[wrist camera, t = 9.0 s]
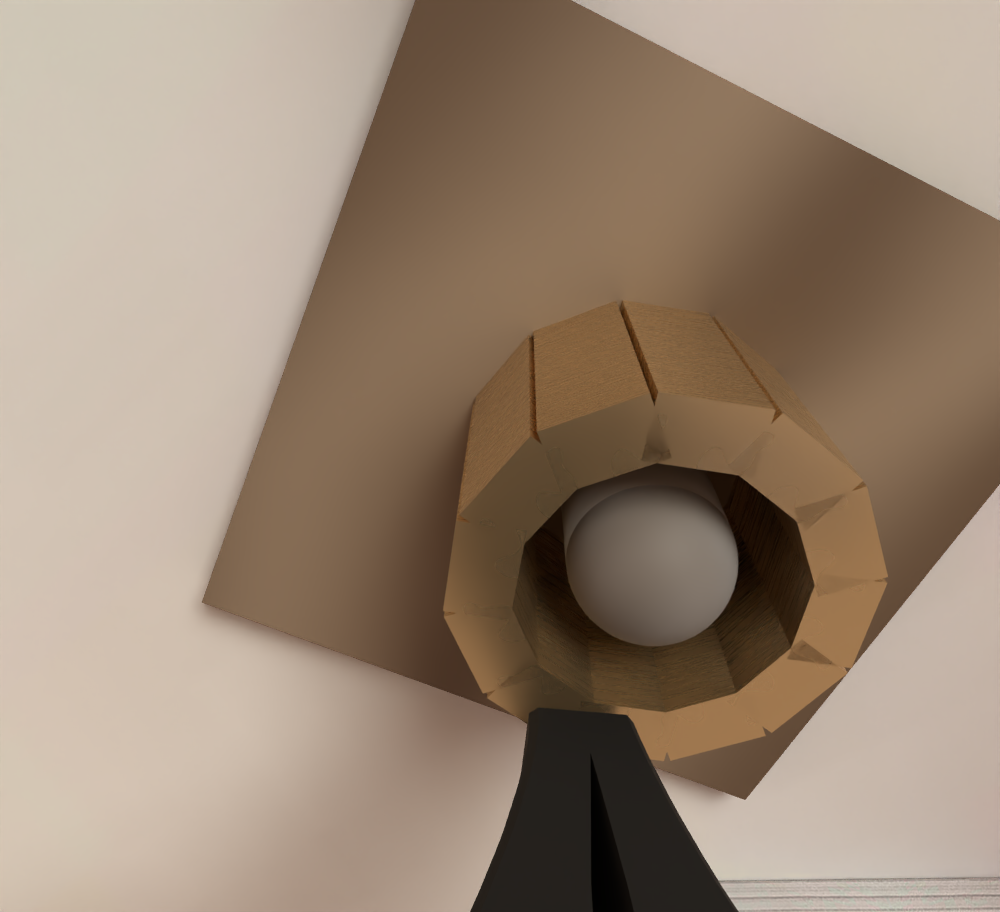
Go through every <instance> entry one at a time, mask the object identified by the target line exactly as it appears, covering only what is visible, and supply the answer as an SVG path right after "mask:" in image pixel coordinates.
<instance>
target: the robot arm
mask: <svg viewBox="0 0 1000 912" xmlns="http://www.w3.org/2000/svg"><path fill="white" fill-rule="evenodd" d="M470 912H738V910H737V909H736V907H735V905H734V904H733V902H732V901H731V899H730V898H729V896H728V895H727V893H726V892H725V890H724V889H723V887H722V886H721V884H720V883H719V881H718V879H717V878H716V876H715V875H714V873H713V871H712V870H711V868H710V866H709V865H708V863H707V862H706V860H705V858H704V857H703V855H702V853H701V852H700V850H699V848H698V846H697V845H696V843H695V841H694V840H693V838H692V836H691V834H690V833H689V831H688V829H687V828H686V826H685V824H684V822H683V821H682V819H681V817H680V815H679V814H678V812H677V810H676V808H675V806H674V804H673V803H672V801H671V799H670V797H669V795H668V793H667V791H666V789H665V788H664V786H663V784H662V782H661V780H660V778H659V776H658V774H657V772H656V770H655V768H654V766H653V764H652V762H651V760H650V758H649V756H648V754H647V752H646V749H645V747H644V745H643V743H642V741H641V739H640V736H639V734H638V732H637V730H636V727H635V725H634V722H633V721H632V720H631V719H630V718H629V717H628V716H627V715H623V714H611V713H599V712H587V711H575V710H563V709H550V708H537V709H535V710H533V711H532V712H530V713H529V717H528V724H527V732H526V740H525V748H524V755H523V763H522V771H521V776H520V780H519V784H518V787H517V791H516V794H515V797H514V800H513V803H512V806H511V809H510V812H509V815H508V819H507V822H506V825H505V828H504V831H503V834H502V836H501V839H500V842H499V844H498V847H497V849H496V852H495V854H494V857H493V859H492V861H491V864H490V866H489V869H488V871H487V874H486V876H485V879H484V881H483V884H482V886H481V889H480V891H479V893H478V896H477V898H476V900H475V902H474V904H473V907H472V909H471V911H470Z"/></svg>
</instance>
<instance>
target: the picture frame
mask: <svg viewBox="0 0 1000 912" xmlns="http://www.w3.org/2000/svg"><path fill="white" fill-rule="evenodd" d="M719 883H720V884H721V886H722V887H723V889H724V890H725V892H726V893H727V895H728V896H729V898H730V899H731V901H732V902H733V904H734V905H735V907H736V909H737V910H738V912H1000V878H957V879H875V880H793V881H719Z"/></svg>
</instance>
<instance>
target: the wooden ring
mask: <svg viewBox="0 0 1000 912" xmlns="http://www.w3.org/2000/svg"><path fill="white" fill-rule="evenodd" d="M655 463H660V464H666V465H673V466H680V467H687V468H693V469H700V470H707V471H713V472H720V473H727V474H734V475H736V476H735V479H734V483H733V486H732V489H731V492H730V496H729V499H728V502H727V504H726V505H725V506H724V507H723V510H724V513H725V515H726V517H727V519H728V522H729V524H730V526H731V529H732V532H733V534H734V537H735V541H736V545H737V550H738V575H737V580H736V584H735V588H734V591H733V593H732V596H731V598H730V600H729V602H728V604H727V605H726V607H725V609H724V610H723V612H722V613H721V614H720V615H719V617H718V618H717V619H716V620H715V621H714V622H713V623H712V624H711V625H710V626H709V627H707V628H706V629H705V630H703V631H702V632H701V633H699V634H697V635H696V636H694V637H692V638H690V639H687V640H685V641H682V642H679V643H676V644H671V645H665V646H642V645H637V644H632V643H629V642H626V641H623V640H620V639H618V638H616V637H614V636H612V635H610V634H608V633H607V632H605V631H604V630H602V629H601V628H600V627H599V626H597V625H596V624H595V623H594V622H593V621H592V620H591V619H590V618H589V617H588V616H587V615H586V614H585V612H584V611H583V610H582V608H581V607H580V605H579V604H578V602H577V600H576V598H575V596H574V594H573V592H572V590H571V587H570V584H569V580H568V575H567V569H566V560H565V547H564V540H563V539H561V538H560V537H559V536H557V535H556V534H554V533H553V532H552V531H550V530H549V529H547V528H546V527H545V526H543V524H544V523H545V522H546V521H547V520H548V519H549V518H550V517H551V516H552V515H553V514H554V512H555V511H556V510H557V509H558V508H559V507H560V506H561V505H562V504H563V503H564V502H565V501H566V500H567V499H568V498H569V497H570V496H571V495H572V494H573V493H574V492H575V491H576V490H577V489H579V488H582V487H585V486H588V485H591V484H594V483H597V482H600V481H603V480H606V479H610V478H613V477H616V476H619V475H622V474H625V473H628V472H631V471H634V470H637V469H640V468H643V467H646V466H649V465H652V464H655ZM886 577H888V574H887V570H886V566H885V561H884V557H883V553H882V549H881V544H880V540H879V536H878V531H877V527H876V523H875V518H874V514H873V510H872V506H871V501H870V497H869V493H868V488H867V486H866V484H865V483H864V482H863V479H862V478H861V477H860V476H859V474H858V473H857V472H856V470H855V469H854V468H853V467H852V465H851V464H850V463H849V462H848V460H847V459H846V458H845V456H844V455H843V454H842V453H841V451H840V450H839V449H838V448H837V446H836V445H835V444H834V442H833V441H832V440H831V439H830V437H829V436H828V435H827V434H826V432H825V431H824V430H823V428H822V427H821V426H820V425H819V423H818V422H817V421H816V420H815V418H814V417H813V416H812V414H811V413H810V412H809V411H808V409H807V408H806V407H805V406H804V404H803V403H802V402H801V400H800V399H799V398H798V397H797V395H796V394H795V393H794V392H793V390H792V389H791V388H790V386H789V385H788V384H787V383H786V381H785V380H784V379H783V378H782V376H781V375H780V374H779V372H778V371H777V370H776V369H775V368H774V367H773V366H772V365H771V364H770V363H768V362H767V361H766V360H765V359H764V358H763V357H761V356H760V355H759V354H758V353H757V352H756V351H754V350H753V349H752V348H751V347H750V346H749V345H747V344H746V343H745V342H744V341H743V340H742V339H740V338H739V337H738V336H737V335H736V334H735V333H733V332H732V331H731V330H730V329H729V328H727V327H726V326H725V325H724V324H723V323H722V322H720V321H719V320H718V319H717V318H716V317H715V316H713V317H712V318H711V316H710V315H709V313H702V312H696V311H689V310H683V309H677V308H670V307H664V306H657V305H651V304H645V303H638V302H632V301H625V300H622V304H621V309H620V310H619V307H618V304H617V301H614V302H611V303H608V304H606V305H603V306H600V307H598V308H595V309H592V310H589V311H587V312H584V313H581V314H579V315H576V316H573V317H570V318H568V319H565V320H562V321H559V322H557V323H554V324H551V325H549V326H546V327H543V328H540V329H538V330H535V331H534V338H533V337H531V336H530V335H528V336H527V337H526V338H525V339H524V341H523V342H522V343H521V344H520V345H519V346H518V348H517V349H516V350H515V351H514V352H513V354H512V355H511V356H510V357H509V358H508V359H507V361H506V362H505V363H504V364H503V365H502V366H501V368H500V369H499V370H498V371H497V372H496V373H495V375H494V376H493V377H492V378H491V379H490V381H489V382H488V383H487V384H486V385H485V386H484V388H483V389H482V390H481V391H480V392H479V393H478V395H477V396H476V399H475V402H473V409H472V415H471V422H470V429H469V436H468V442H467V449H466V456H465V462H464V469H463V476H462V483H461V490H460V497H459V503H458V510H457V517H456V524H455V531H454V538H453V545H452V552H451V558H450V565H449V572H448V579H447V586H446V593H445V600H444V606H443V611H445V612H444V618H445V620H446V622H447V624H448V626H449V628H450V630H451V632H452V634H453V636H454V638H455V640H456V642H457V644H458V646H459V648H460V650H461V652H462V654H463V656H464V658H465V659H466V661H467V663H468V665H469V667H470V669H471V671H472V673H473V675H474V677H475V679H476V681H477V683H478V685H479V687H480V689H481V691H482V693H483V694H484V693H487V698H488V699H489V700H491V701H492V702H494V703H496V704H497V705H499V706H500V707H502V708H503V709H505V710H507V711H508V712H510V713H511V714H513V715H514V716H516V717H518V718H519V719H521V720H522V721H524V722H525V723H527V724H528V717H529V713H530V712H532V711H533V710H535V709H537V708H550V709H563V710H575V711H587V712H599V713H611V714H623V715H627V716H628V717H629V718H630V719H631V720H632V721H633V722H634V725H635V727H636V730H637V732H638V734H639V736H640V739H641V741H642V743H643V745H644V747H645V749H646V752H647V754H648V756H649V758H650V759H651V760H659V761H664V759H665V756H666V753H668V756H669V758H670V761H672V760H676V759H679V758H683V757H687V756H691V755H695V754H698V753H702V752H706V751H710V750H714V749H718V748H721V747H725V746H729V745H733V744H737V743H740V742H744V741H748V740H752V739H756V738H760V737H763V736H766V735H765V732H764V730H763V727H764V728H765V729H767V730H768V731H770V732H771V733H772V732H774V731H775V730H776V729H777V728H779V727H780V726H781V725H782V724H784V723H785V722H786V721H788V720H789V719H790V718H791V717H793V716H794V715H795V714H796V713H798V712H799V711H800V710H801V709H803V708H804V707H805V706H807V705H808V704H809V703H810V702H812V701H813V700H814V699H815V698H817V697H818V696H819V695H821V694H822V693H823V692H824V691H826V690H827V689H828V688H829V687H831V686H832V685H833V684H834V683H836V682H837V681H838V680H840V679H841V678H842V677H843V676H845V675H846V674H847V671H846V669H845V667H847V668H852V666H853V664H854V661H855V659H856V656H857V654H858V652H859V649H860V647H861V645H862V642H863V640H864V638H865V635H866V633H867V630H868V628H869V626H870V623H871V621H872V619H873V616H874V614H875V611H876V609H877V607H878V604H879V602H880V600H881V597H882V595H883V592H884V590H885V588H886V585H887V582H886V580H885V579H884V578H886ZM762 726H763V727H762Z"/></svg>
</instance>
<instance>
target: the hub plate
mask: <svg viewBox="0 0 1000 912" xmlns="http://www.w3.org/2000/svg"><path fill="white" fill-rule="evenodd" d="M622 300H625V301H632V302H638V303H645V304H651V305H657V306H664V307H670V308H677V309H683V310H689V311H696V312H702V313H709V315H710V316H711V318H712V317H713V316H715V317H716V318H717V319H718V320H719V321H720V322H722V323H723V324H724V325H725V326H726V327H727V328H729V329H730V330H731V331H732V332H733V333H735V334H736V335H737V336H738V337H739V338H740V339H742V340H743V341H744V342H745V343H746V344H747V345H749V346H750V347H751V348H752V349H753V350H754V351H756V352H757V353H758V354H759V355H760V356H761V357H763V358H764V359H765V360H766V361H767V362H768V363H770V364H771V365H772V366H773V367H774V368H775V369H776V370H777V371H778V372H779V374H780V375H781V376H782V378H783V379H784V380H785V381H786V383H787V384H788V385H789V386H790V388H791V389H792V390H793V392H794V393H795V394H796V395H797V397H798V398H799V399H800V400H801V402H802V403H803V404H804V406H805V407H806V408H807V409H808V411H809V412H810V413H811V414H812V416H813V417H814V418H815V420H816V421H817V422H818V423H819V425H820V426H821V427H822V428H823V430H824V431H825V432H826V434H827V435H828V436H829V437H830V439H831V440H832V441H833V442H834V444H835V445H836V446H837V448H838V449H839V450H840V451H841V453H842V454H843V455H844V456H845V458H846V459H847V460H848V462H849V463H850V464H851V465H852V467H853V468H854V469H855V470H856V472H857V473H858V474H859V476H860V477H861V478H862V479H863V482H864V483H865V484H866V486H867V488H868V493H869V497H870V501H871V506H872V510H873V514H874V518H875V523H876V527H877V531H878V536H879V540H880V544H881V549H882V553H883V557H884V561H885V566H886V570H887V574H888V577H886V578H884V579H885V580H886V582H887V585H886V588H885V590H884V592H883V595H882V597H881V600H880V602H879V604H878V607H877V609H876V611H875V614H874V616H873V619H872V621H871V623H870V626H869V628H868V630H867V633H866V635H865V638H864V640H863V642H862V645H861V647H860V649H859V652H858V654H857V656H856V659H855V661H854V664H855V663H856V662H857V661H858V659H859V658H860V657H861V656H862V654H863V653H864V652H865V651H866V649H867V648H868V647H869V646H870V644H871V643H872V642H873V641H874V639H875V638H876V637H877V636H878V634H879V633H880V632H881V631H882V630H883V628H884V627H885V626H886V625H887V623H888V622H889V621H890V620H891V618H892V617H893V616H894V615H895V613H896V612H897V611H898V610H899V608H900V607H901V606H902V605H903V603H904V602H905V601H906V600H907V598H908V597H909V596H910V595H911V594H912V592H913V591H914V590H915V589H916V587H917V586H918V585H919V584H920V582H921V581H922V580H923V579H924V577H925V576H926V575H927V574H928V572H929V571H930V570H931V569H932V567H933V566H934V565H935V564H936V563H937V561H938V560H939V559H940V558H941V556H942V555H943V554H944V553H945V551H946V550H947V549H948V548H949V546H950V545H951V544H952V543H953V541H954V540H955V539H956V538H957V536H958V535H959V534H960V533H961V531H962V530H963V529H964V528H965V527H966V525H967V524H968V523H969V522H970V520H971V519H972V518H973V517H974V515H975V514H976V513H977V512H978V510H979V509H980V508H981V507H982V505H983V504H984V503H985V502H986V500H987V499H988V498H989V497H990V496H991V494H992V493H993V492H994V491H995V489H996V488H997V487H998V486H999V484H1000V221H999V220H997V219H995V218H993V217H991V216H989V215H988V214H986V213H984V212H982V211H980V210H978V209H976V208H974V207H972V206H970V205H968V204H966V203H964V202H962V201H960V200H958V199H956V198H954V197H953V196H951V195H949V194H947V193H945V192H943V191H941V190H939V189H937V188H935V187H933V186H931V185H929V184H927V183H925V182H923V181H921V180H919V179H918V178H916V177H914V176H912V175H910V174H908V173H906V172H904V171H902V170H900V169H898V168H896V167H894V166H892V165H890V164H888V163H886V162H884V161H883V160H881V159H879V158H877V157H875V156H873V155H871V154H869V153H867V152H865V151H863V150H861V149H859V148H857V147H855V146H853V145H851V144H849V143H848V142H846V141H844V140H842V139H840V138H838V137H836V136H834V135H832V134H830V133H828V132H826V131H824V130H822V129H820V128H818V127H816V126H814V125H813V124H811V123H809V122H807V121H805V120H803V119H801V118H799V117H797V116H795V115H793V114H791V113H789V112H787V111H785V110H783V109H781V108H779V107H778V106H776V105H774V104H772V103H770V102H768V101H766V100H764V99H762V98H760V97H758V96H756V95H754V94H752V93H750V92H748V91H746V90H744V89H743V88H741V87H739V86H737V85H735V84H733V83H731V82H729V81H727V80H725V79H723V78H721V77H719V76H717V75H715V74H713V73H711V72H709V71H708V70H706V69H704V68H702V67H700V66H698V65H696V64H694V63H692V62H690V61H688V60H686V59H684V58H682V57H680V56H678V55H676V54H674V53H672V52H671V51H669V50H667V49H665V48H663V47H661V46H659V45H657V44H655V43H653V42H651V41H649V40H647V39H645V38H643V37H641V36H639V35H637V34H636V33H634V32H632V31H630V30H628V29H626V28H624V27H622V26H620V25H618V24H616V23H614V22H612V21H610V20H608V19H606V18H604V17H602V16H601V15H599V14H597V13H595V12H593V11H591V10H589V9H587V8H585V7H583V6H581V5H579V4H577V3H575V2H573V1H571V0H415V3H414V6H413V9H412V12H411V14H410V17H409V20H408V23H407V26H406V29H405V31H404V34H403V37H402V40H401V43H400V45H399V48H398V51H397V54H396V57H395V60H394V62H393V65H392V68H391V71H390V74H389V76H388V79H387V82H386V85H385V88H384V91H383V93H382V96H381V99H380V102H379V105H378V107H377V110H376V113H375V116H374V119H373V122H372V124H371V127H370V130H369V133H368V136H367V138H366V141H365V144H364V147H363V150H362V153H361V155H360V158H359V161H358V164H357V167H356V169H355V172H354V175H353V178H352V181H351V184H350V186H349V189H348V192H347V195H346V198H345V200H344V203H343V206H342V209H341V212H340V215H339V217H338V220H337V223H336V226H335V229H334V231H333V234H332V237H331V240H330V243H329V245H328V248H327V251H326V254H325V257H324V260H323V262H322V265H321V268H320V271H319V274H318V276H317V279H316V282H315V285H314V288H313V291H312V293H311V296H310V299H309V302H308V305H307V307H306V310H305V313H304V316H303V319H302V322H301V324H300V327H299V330H298V333H297V336H296V338H295V341H294V344H293V347H292V350H291V353H290V355H289V358H288V361H287V364H286V367H285V369H284V372H283V375H282V378H281V381H280V384H279V386H278V389H277V392H276V395H275V398H274V400H273V403H272V406H271V409H270V412H269V415H268V417H267V420H266V423H265V426H264V429H263V431H262V434H261V437H260V440H259V443H258V446H257V448H256V451H255V454H254V457H253V460H252V462H251V465H250V468H249V471H248V474H247V477H246V479H245V482H244V485H243V488H242V491H241V493H240V496H239V499H238V502H237V505H236V507H235V510H234V513H233V516H232V519H231V522H230V524H229V527H228V530H227V533H226V536H225V538H224V541H223V544H222V547H221V550H220V553H219V555H218V558H217V561H216V564H215V567H214V569H213V572H212V575H211V578H210V581H209V584H208V586H207V589H206V592H205V595H204V598H203V600H202V603H205V604H208V605H210V606H213V607H216V608H219V609H221V610H224V611H227V612H230V613H232V614H235V615H238V616H241V617H243V618H246V619H249V620H252V621H254V622H257V623H260V624H263V625H265V626H268V627H271V628H274V629H276V630H279V631H282V632H285V633H287V634H290V635H293V636H296V637H298V638H301V639H304V640H307V641H309V642H312V643H315V644H318V645H320V646H323V647H326V648H329V649H331V650H334V651H337V652H340V653H342V654H345V655H348V656H351V657H353V658H356V659H359V660H362V661H364V662H367V663H370V664H373V665H375V666H378V667H381V668H384V669H386V670H389V671H392V672H395V673H397V674H400V675H403V676H406V677H408V678H411V679H414V680H417V681H419V682H422V683H425V684H428V685H430V686H433V687H436V688H439V689H441V690H444V691H447V692H450V693H452V694H455V695H458V696H461V697H463V698H466V699H469V700H472V701H474V702H477V703H480V704H483V705H485V706H488V707H491V708H494V709H496V710H499V711H502V712H505V713H507V714H510V715H513V714H511V713H510V712H508V711H507V710H505V709H503V708H502V707H500V706H499V705H497V704H496V703H494V702H492V701H491V700H489V699H488V698H487V693H484V694H483V693H482V691H481V689H480V687H479V685H478V683H477V681H476V679H475V677H474V675H473V673H472V671H471V669H470V667H469V665H468V663H467V661H466V659H465V658H464V656H463V654H462V652H461V650H460V648H459V646H458V644H457V642H456V640H455V638H454V636H453V634H452V632H451V630H450V628H449V626H448V624H447V622H446V620H445V618H444V612H445V611H443V606H444V600H445V593H446V586H447V579H448V572H449V565H450V558H451V552H452V545H453V538H454V531H455V524H456V517H457V510H458V503H459V497H460V490H461V483H462V476H463V469H464V462H465V456H466V449H467V442H468V436H469V429H470V422H471V415H472V409H473V402H475V399H476V396H477V395H478V393H479V392H480V391H481V390H482V389H483V388H484V386H485V385H486V384H487V383H488V382H489V381H490V379H491V378H492V377H493V376H494V375H495V373H496V372H497V371H498V370H499V369H500V368H501V366H502V365H503V364H504V363H505V362H506V361H507V359H508V358H509V357H510V356H511V355H512V354H513V352H514V351H515V350H516V349H517V348H518V346H519V345H520V344H521V343H522V342H523V341H524V339H525V338H526V337H527V336H528V335H530V336H531V337H533V338H534V331H535V330H538V329H540V328H543V327H546V326H549V325H551V324H554V323H557V322H559V321H562V320H565V319H568V318H570V317H573V316H576V315H579V314H581V313H584V312H587V311H589V310H592V309H595V308H598V307H600V306H603V305H606V304H608V303H611V302H614V301H617V304H618V307H619V310H620V309H621V304H622ZM735 476H736V475H734V474H727V473H720V472H713V471H707V470H700V469H693V468H687V467H680V466H673V465H666V464H660V463H655V464H652V465H649V466H646V467H643V468H640V469H637V470H634V471H631V472H628V473H625V474H622V475H619V476H616V477H613V478H610V479H606V480H603V481H600V482H597V483H594V484H591V485H588V486H585V487H582V488H579V489H577V490H576V491H575V492H574V493H573V494H572V495H571V496H570V497H569V498H568V499H567V500H566V501H565V502H564V503H563V504H562V505H561V506H560V507H559V508H558V509H557V510H556V511H555V512H554V514H553V515H552V516H551V517H550V518H549V519H548V520H547V521H546V522H545V523H544V524H543V526H545V527H546V528H547V529H549V530H550V531H552V532H553V533H554V534H556V535H557V536H559V537H560V538H561V539H563V540H564V547H565V560H566V569H567V575H568V580H569V584H570V587H571V590H572V592H573V594H574V596H575V598H576V600H577V602H578V604H579V605H580V607H581V608H582V610H583V611H584V612H585V614H586V615H587V616H588V617H589V618H590V619H591V620H592V621H593V622H594V623H595V624H596V625H597V626H599V627H600V628H601V629H602V630H604V631H605V632H607V633H608V634H610V635H612V636H614V637H616V638H618V639H620V640H623V641H626V642H629V643H632V644H637V645H642V646H665V645H671V644H676V643H679V642H682V641H685V640H687V639H690V638H692V637H694V636H696V635H697V634H699V633H701V632H702V631H703V630H705V629H706V628H707V627H709V626H710V625H711V624H712V623H713V622H714V621H715V620H716V619H717V618H718V617H719V615H720V614H721V613H722V612H723V610H724V609H725V607H726V605H727V604H728V602H729V600H730V598H731V596H732V593H733V591H734V588H735V584H736V580H737V575H738V550H737V545H736V541H735V537H734V534H733V532H732V529H731V526H730V524H729V522H728V519H727V517H726V515H725V513H724V510H723V507H724V506H725V505H726V504H727V502H728V499H729V496H730V492H731V489H732V486H733V483H734V479H735ZM854 664H853V665H854ZM852 667H853V666H852ZM845 669H846V671H847V673H848V672H849V670H850V669H851V668H847V667H845ZM844 677H845V676H843V677H842V678H841V679H840V680H838V681H837V682H836V683H834V684H833V685H832V686H831V687H829V688H828V689H827V690H826V691H824V692H823V693H822V694H821V695H819V696H818V697H817V698H815V699H814V700H813V701H812V702H810V703H809V704H808V705H807V706H805V707H804V708H803V709H801V710H800V711H799V712H798V713H796V714H795V715H794V716H793V717H791V718H790V719H789V720H788V721H786V722H785V723H784V724H782V725H781V726H780V727H779V728H777V729H776V730H775V731H774V732H772V733H771V732H770V731H768V730H767V729H765V728H764V727H763V726H762V727H763V730H764V732H765V735H766V736H763V737H760V738H756V739H752V740H748V741H744V742H740V743H737V744H733V745H729V746H725V747H721V748H718V749H714V750H710V751H706V752H702V753H698V754H695V755H691V756H687V757H683V758H679V759H676V760H672V761H670V758H669V756H668V753H666V756H665V759H664V761H659V760H651V759H650V760H651V762H652V764H653V766H654V767H656V768H659V769H662V770H664V771H667V772H670V773H673V774H675V775H678V776H681V777H684V778H686V779H689V780H692V781H695V782H697V783H700V784H703V785H706V786H708V787H711V788H714V789H717V790H719V791H722V792H725V793H728V794H730V795H733V796H736V797H739V798H741V799H744V800H745V799H746V798H747V797H748V796H749V795H750V793H751V792H752V791H753V790H754V788H755V787H756V786H757V785H758V783H759V782H760V781H761V780H762V778H763V777H764V776H765V775H766V773H767V772H768V771H769V770H770V768H771V767H772V766H773V765H774V763H775V762H776V761H777V760H778V759H779V757H780V756H781V755H782V754H783V752H784V751H785V750H786V749H787V747H788V746H789V745H790V744H791V742H792V741H793V740H794V739H795V737H796V736H797V735H798V734H799V732H800V731H801V730H802V729H803V728H804V726H805V725H806V724H807V723H808V721H809V720H810V719H811V718H812V716H813V715H814V714H815V713H816V711H817V710H818V709H819V708H820V706H821V705H822V704H823V703H824V701H825V700H826V699H827V698H828V697H829V695H830V694H831V693H832V692H833V690H834V689H835V688H836V687H837V685H838V684H839V683H840V682H841V680H842V679H843V678H844ZM513 716H514V715H513Z"/></svg>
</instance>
